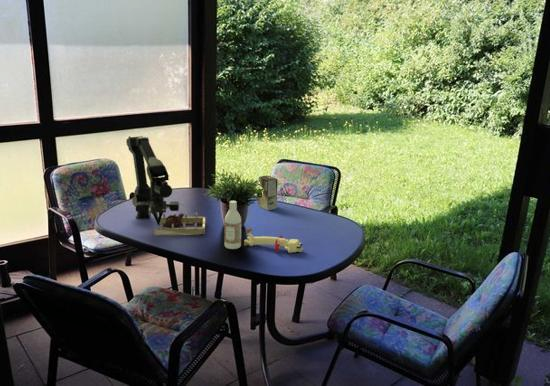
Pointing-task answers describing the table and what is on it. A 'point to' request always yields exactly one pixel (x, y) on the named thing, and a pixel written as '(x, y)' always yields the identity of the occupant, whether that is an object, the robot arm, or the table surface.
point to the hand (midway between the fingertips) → (158, 224)
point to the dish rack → (183, 230)
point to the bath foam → (233, 227)
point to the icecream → (173, 221)
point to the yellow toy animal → (273, 242)
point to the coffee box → (268, 193)
